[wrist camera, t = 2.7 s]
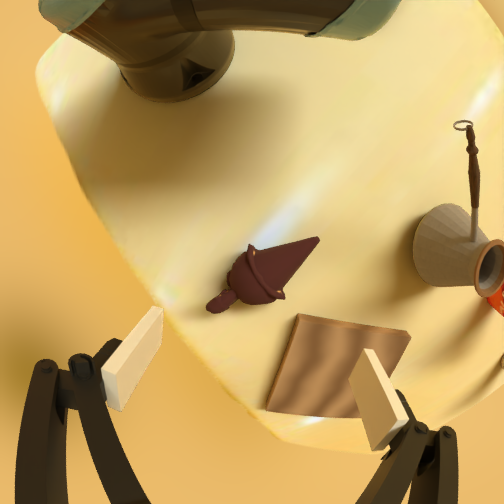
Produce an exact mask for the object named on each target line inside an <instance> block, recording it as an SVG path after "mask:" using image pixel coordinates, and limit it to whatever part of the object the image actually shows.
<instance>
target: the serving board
mask: <svg viewBox="0 0 504 504" xmlns="http://www.w3.org/2000/svg"><path fill="white" fill-rule="evenodd" d="M410 339H411V336H410V335H409V334H408V333H407V331H403V330H396V329H389V328H382V327H375V326H368V325H362V324H356V323H349V322H343V321H338V320H332V319H326V318H320V317H315V316H310V315H304V314H299V313H298V315H297V318H296V322H295V325H294V328H293V331H292V333H291V336H290V339H289V342H288V345H287V348H286V351H285V354H284V356H283V359H282V362H281V365H280V368H279V370H278V373H277V376H276V378H275V381H274V384H273V386H272V389H271V391H270V394H269V397H268V399H267V402H266V411H270V412H277V413H285V414H294V415H304V416H316V417H333V418H361V415H360V412H359V409H358V406H357V403H356V400H355V397H354V394H353V391H352V388H351V385H350V383H349V380H348V379H349V377H350V375H351V373H352V371H353V369H354V367H355V365H356V363H357V361H358V359H359V357H360V355H361V353H362V351H363V349H373V350H374V352H375V354H376V356H377V357H378V359H379V361H380V363H381V365H382V367H383V369H384V370H385V372H386V374H387V376H388V378H390V376H391V374H392V373H393V371H394V369H395V367H396V366H397V364H398V362H399V360H400V358H401V356H402V355H403V353H404V351H405V349H406V347H407V345H408V343H409V341H410Z"/></svg>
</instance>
